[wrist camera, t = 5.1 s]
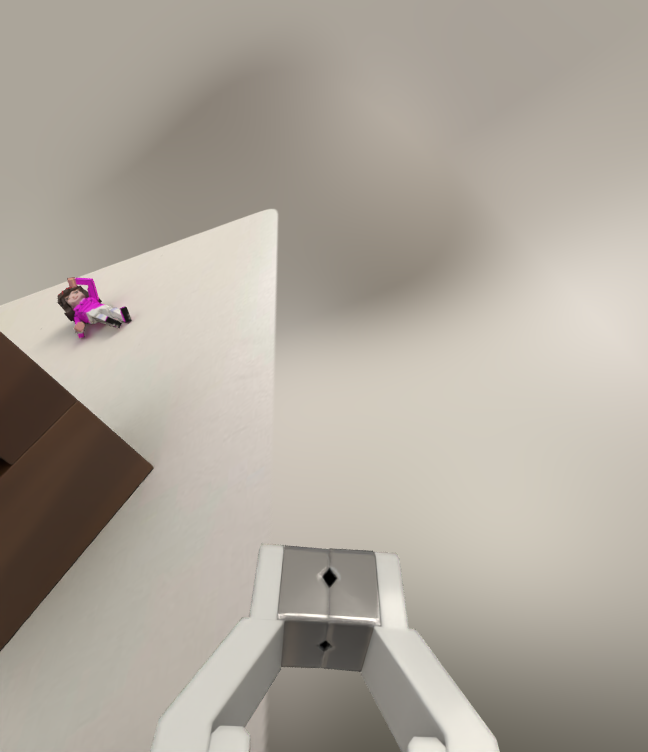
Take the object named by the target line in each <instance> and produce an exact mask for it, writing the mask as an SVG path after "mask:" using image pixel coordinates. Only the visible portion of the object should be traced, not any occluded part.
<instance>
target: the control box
mask: <svg viewBox="0 0 648 752" xmlns="http://www.w3.org/2000/svg"><path fill="white" fill-rule="evenodd" d="M152 469H153V466H152V465H151V464H150V463H149V462H148V461H146V460H145V459H144V458H143V457H142V456H141V455H140V454H138V453H137V452H136V451H135V450H134V449H133V448H132V447H131V446H129V445H128V444H127V443H126V442H125V441H124V440H123V439H121V438H120V437H119V436H118V435H117V434H116V433H115V432H114V431H112V430H111V429H110V428H109V427H108V426H107V425H106V424H105V423H103V422H102V421H101V420H100V419H99V418H98V417H97V416H95V415H94V414H93V413H92V412H91V411H90V410H89V409H88V408H86V407H85V406H84V405H83V404H82V403H81V402H80V401H78V400H77V399H76V398H75V397H74V396H73V395H72V394H71V393H69V392H68V391H67V390H66V389H65V388H64V387H63V386H61V385H60V384H59V383H58V382H57V381H56V380H55V379H54V378H52V377H51V376H50V375H49V374H48V373H47V372H46V371H44V370H43V369H42V368H41V367H40V366H39V365H38V364H37V363H35V362H34V361H33V360H32V359H31V358H30V357H29V356H27V355H26V354H25V353H24V352H23V351H22V350H21V349H20V348H18V347H17V346H16V345H15V344H14V343H13V342H12V341H11V340H9V339H8V338H7V337H6V336H5V335H4V334H3V333H1V332H0V650H1V649H2V648H3V647H4V646H5V644H6V643H7V642H8V641H9V640H10V638H11V637H12V636H13V635H14V634H15V632H16V631H17V630H18V629H19V628H20V626H21V625H22V624H23V623H24V622H25V620H26V619H27V618H28V617H29V616H30V614H31V613H32V612H33V611H34V610H35V609H36V607H37V606H38V605H39V604H40V603H41V601H42V600H43V599H44V598H45V597H46V595H47V594H48V593H49V592H50V591H51V589H52V588H53V587H54V586H55V585H56V583H57V582H58V581H59V580H60V579H61V577H62V576H63V575H64V574H65V573H66V572H67V570H68V569H69V568H70V567H71V566H72V564H73V563H74V562H75V561H76V560H77V558H78V557H79V556H80V555H81V554H82V552H83V551H84V550H85V549H86V548H87V546H88V545H89V544H90V543H91V542H92V540H93V539H94V538H95V537H96V536H97V535H98V533H99V532H100V531H101V530H102V529H103V527H104V526H105V525H106V524H107V523H108V521H109V520H110V519H111V518H112V517H113V515H114V514H115V513H116V512H117V511H118V509H119V508H120V507H121V506H122V505H123V503H124V502H125V501H126V500H127V499H128V498H129V496H130V495H131V494H132V493H133V492H134V490H135V489H136V488H137V487H138V486H139V484H140V483H141V482H142V481H143V480H144V478H145V477H146V476H147V475H148V474H149V472H150V471H151V470H152Z"/></svg>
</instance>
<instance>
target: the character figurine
mask: <svg viewBox="0 0 648 752" xmlns="http://www.w3.org/2000/svg"><path fill="white" fill-rule="evenodd" d="M67 280H68V283H69V286H70V287H69V288H66V289H65V290H64V291H62V293H60V294H59V295H58V302H57V303H58V304H59V305H60V306H61V307H62V308H63V309H64V310H65V312H66V313H64V314H65V315H66V316H67V317H68V319H69V320H70V321H74V322H75V324H76V325H75V327H74V331H75V333H77V334H78V336H79V338H82V337H85V336H84V332H83V331H84V328H85V325H84V323H85V324H86V323H89V324H95V323H97V322H100V323H104V324H107V325H109V326H113V327H118V328H120V326H121V324H122V323H120V322H118V321H116V320H115V319H113V318H116V319H118V320H122V321H124V322H126V323H127V322H129V321H131V318H130V315H129V312H128V310H127V307H122V308H120V309H118V308H113V307H112V306H109V305H105V304H101V302H102V301H101V300H100V299H99V297H98V294H97V290H96V287H95V283H94V281H93V279H91V278H75V277H72V278H67ZM77 284H79V285H88V289H87V290H88V292H87V291H86V290H84V289H83V288H82V287H81V286H77Z"/></svg>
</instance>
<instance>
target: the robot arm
mask: <svg viewBox="0 0 648 752" xmlns="http://www.w3.org/2000/svg"><path fill="white" fill-rule="evenodd" d="M281 667H301V668H324V669H337V670H347V671H358V672H361V676H362V677H363V679H364V681H365V683H366V685H367V687H368V689H369V691H370V693H371V694H372V696H373V698H374V700H375V702H376V704H377V706H378V708H379V710H380V712H381V714H382V715H383V717H384V719H385V721H386V723H387V725H388V727H389V729H390V731H391V733H392V735H393V737H394V738H395V740H396V742H397V744H398V746H399V748H400V750H401V752H499V748H498V743H497V740H496V738H495V737H494V735H493V734H492V732H491V731H490V730H489V728H488V727H487V726H486V724H485V723H484V722H483V720H482V719H481V718H480V716H479V715H478V713H477V712H476V711H475V709H474V708H473V707H472V705H471V704H470V703H469V701H468V700H467V698H466V697H465V696H464V694H463V693H462V692H461V690H460V689H459V687H458V686H457V685H456V683H455V682H454V681H453V679H452V678H451V677H450V675H449V674H448V672H447V671H446V670H445V668H444V667H443V666H442V664H441V663H440V662H439V660H438V659H437V657H436V656H435V655H434V653H433V652H432V651H431V649H430V648H429V646H428V645H427V644H426V642H425V641H424V640H423V638H422V637H421V636H420V634H419V633H418V631H417V630H416V629H412V628H408V619H407V612H406V604H405V597H404V589H403V582H402V574H401V567H400V559H399V557H398V555H397V553H388V552H373V551H366V550H346V549H321V548H308V547H297V546H286V545H285V547H284V545H276V544H261V546H260V549H259V554H258V561H257V568H256V574H255V581H254V588H253V595H252V601H251V608H250V615H249V618H241V619H240V621H239V622H238V623H237V624H236V626H235V627H234V628H233V629H232V630H231V632H230V633H229V634H228V635H227V636H226V638H225V639H224V640H223V641H222V643H221V644H220V645H219V646H218V647H217V649H216V650H215V651H214V652H213V654H212V655H211V656H210V657H209V658H208V660H207V661H206V662H205V663H204V664H203V666H202V667H201V668H200V669H199V671H198V672H197V673H196V674H195V675H194V677H193V678H192V679H191V680H190V682H189V683H188V684H187V685H186V686H185V688H184V689H183V690H182V691H181V693H180V694H179V695H178V696H177V697H176V699H175V700H174V701H173V702H172V703H171V705H170V706H169V707H168V708H167V710H166V711H165V712H164V713H163V714H162V716H161V717H160V718H159V720H158V724H157V727H156V731H155V735H154V739H153V742H152V746H151V750H150V752H250V735H249V733H248V732H247V731H246V729H245V726H246V725H247V723H248V721H249V720H250V718H251V717H252V715H253V713H254V712H255V710H256V709H257V707H258V705H259V704H260V702H261V701H262V699H263V697H264V696H265V694H266V693H267V691H268V689H269V688H270V686H271V685H272V683H273V681H274V680H275V678H276V676H277V674H278V673H279V672H280V670H281Z"/></svg>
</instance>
